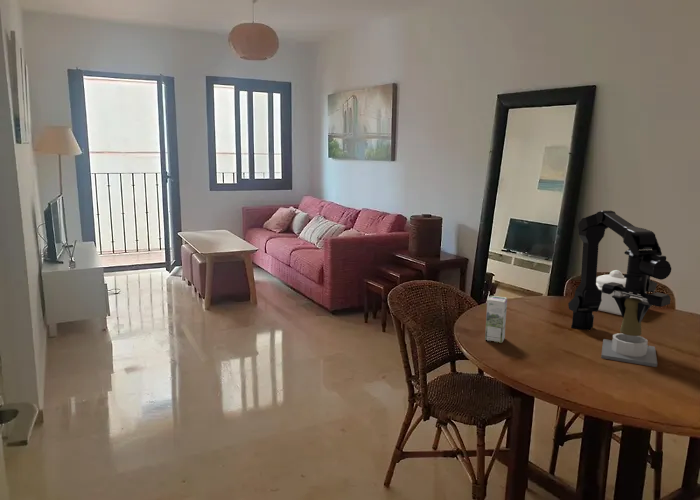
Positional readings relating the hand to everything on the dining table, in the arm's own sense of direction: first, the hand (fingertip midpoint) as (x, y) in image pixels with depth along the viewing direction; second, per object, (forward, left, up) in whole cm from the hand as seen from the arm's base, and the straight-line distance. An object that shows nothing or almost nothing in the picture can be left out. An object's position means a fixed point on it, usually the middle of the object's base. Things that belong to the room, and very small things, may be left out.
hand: (631, 320), depth 167 cm
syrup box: (-40, -7, -11) cm, 42 cm away
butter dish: (-5, +54, -11) cm, 55 cm away
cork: (0, 0, -4) cm, 4 cm away
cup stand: (0, 0, -11) cm, 11 cm away
